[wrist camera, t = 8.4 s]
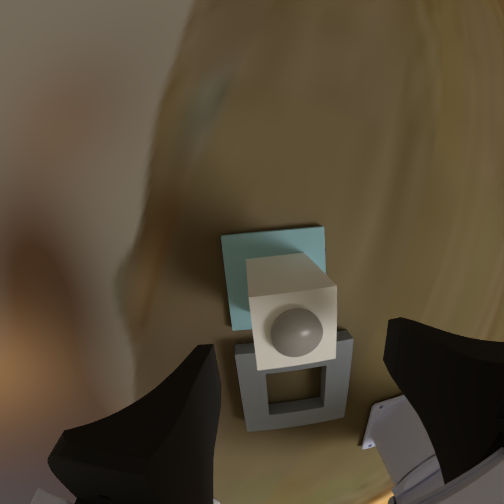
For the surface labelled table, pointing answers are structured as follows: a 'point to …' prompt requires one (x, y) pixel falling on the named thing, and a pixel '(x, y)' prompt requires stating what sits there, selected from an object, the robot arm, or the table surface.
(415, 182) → the table surface
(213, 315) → the table surface
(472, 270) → the table surface
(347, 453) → the table surface
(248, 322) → the mat
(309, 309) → the plug
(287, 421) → the grey square frame
